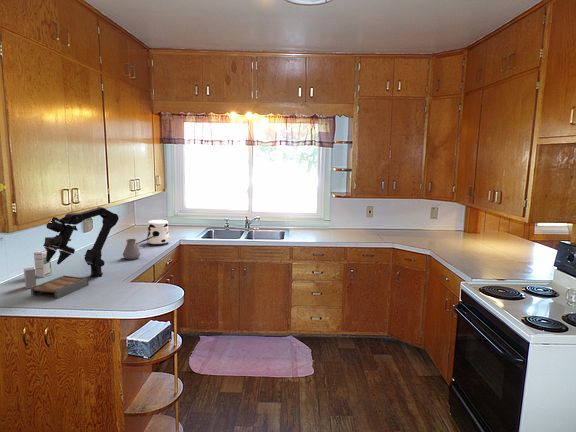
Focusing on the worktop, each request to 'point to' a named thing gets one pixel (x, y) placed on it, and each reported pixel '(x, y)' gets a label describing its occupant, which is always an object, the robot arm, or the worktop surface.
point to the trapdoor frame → (66, 289)
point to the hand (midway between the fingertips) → (52, 263)
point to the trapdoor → (56, 284)
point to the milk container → (158, 232)
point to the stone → (29, 277)
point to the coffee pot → (132, 249)
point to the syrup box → (42, 264)
